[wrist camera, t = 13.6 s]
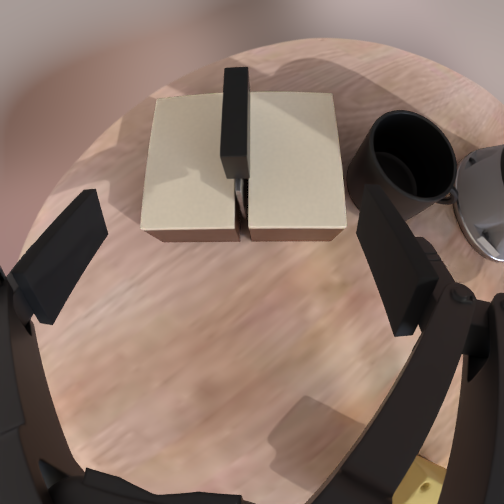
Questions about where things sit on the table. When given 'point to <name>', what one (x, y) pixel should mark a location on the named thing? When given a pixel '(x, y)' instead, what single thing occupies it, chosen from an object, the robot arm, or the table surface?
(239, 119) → the dough scraper
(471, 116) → the table surface
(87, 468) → the robot arm
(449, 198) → the mug
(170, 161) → the split beige slab
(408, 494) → the cheese
